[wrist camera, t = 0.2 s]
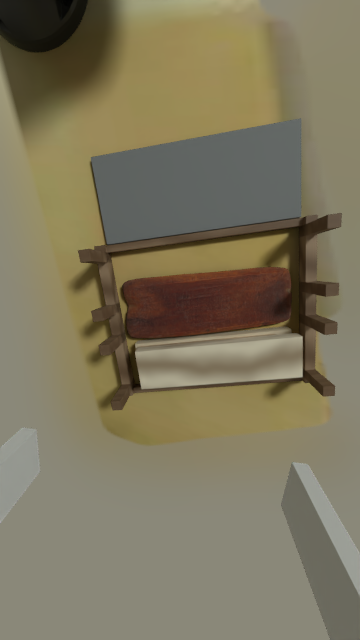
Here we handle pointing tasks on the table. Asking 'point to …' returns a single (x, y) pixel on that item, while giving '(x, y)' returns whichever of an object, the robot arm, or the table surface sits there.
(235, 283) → the wooden tablet
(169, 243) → the rack
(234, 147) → the mat
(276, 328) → the offcut stack
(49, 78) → the table surface
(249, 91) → the table surface
